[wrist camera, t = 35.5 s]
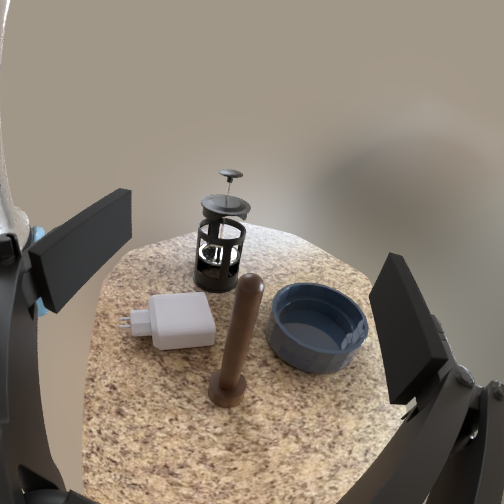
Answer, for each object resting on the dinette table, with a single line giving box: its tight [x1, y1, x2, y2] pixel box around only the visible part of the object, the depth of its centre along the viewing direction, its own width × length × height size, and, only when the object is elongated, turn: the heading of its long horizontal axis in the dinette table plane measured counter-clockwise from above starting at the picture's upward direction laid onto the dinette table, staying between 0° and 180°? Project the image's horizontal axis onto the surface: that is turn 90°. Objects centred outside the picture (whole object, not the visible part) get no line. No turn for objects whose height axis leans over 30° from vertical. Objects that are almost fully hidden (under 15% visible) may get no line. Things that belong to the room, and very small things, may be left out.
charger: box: [119, 292, 216, 350], centre depth 44 cm, size 5×9×15 cm
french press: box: [193, 169, 251, 293], centre depth 54 cm, size 12×9×23 cm
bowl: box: [265, 283, 369, 374], centre depth 48 cm, size 17×17×6 cm
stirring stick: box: [208, 273, 264, 408], centre depth 32 cm, size 5×5×21 cm
